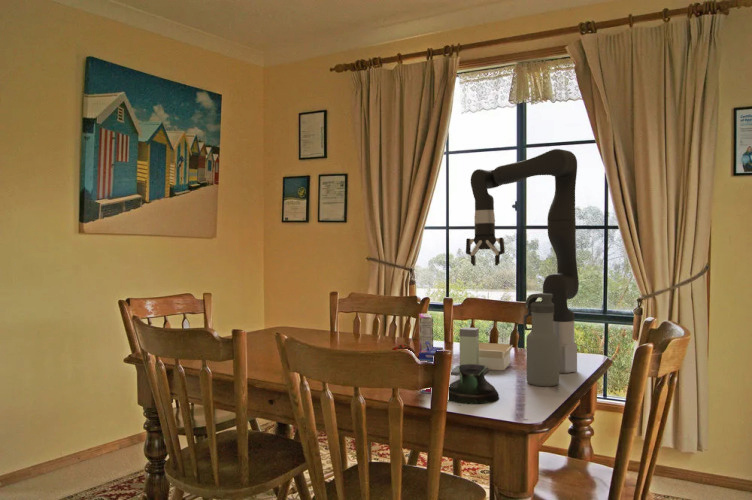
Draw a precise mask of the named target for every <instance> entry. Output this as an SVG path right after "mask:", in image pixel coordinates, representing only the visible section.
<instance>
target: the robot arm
mask: <svg viewBox="0 0 752 500" xmlns="http://www.w3.org/2000/svg"><path fill="white" fill-rule="evenodd" d="M577 160H578V159H577V157H576V155H575V154H574V153H573V152H572V151H570V150H566V149H562V148H561V149H560V148H554V149H551V150H547V151H546V152H544V153H541V154H538V155H536V156H533V157H531V158H529V159H525V160H522V161H516V162H512V163H508V164H503V165H499V166H496V167H495V168H494V169H490V170H488V169H482V168H477V169H475V170H474V171H473V172H472V173H471V175H470V187H471V190H472V194H473V198H474V238H466V243H465V254H467V255H469V256H470V263H471V265H472V266H473V267H475V266H477V265H476V264H477V263H476V262H477V261H476V259H477V258H476V254H477V253H478V251H480V250H491V251H492V252H493V253H494V254H495V255H494V266H496V267H498V265H500V262H501V261H500V259H501V257H500V256H501V255H503V254H505V252H506V251H505V239H504V237H496V223H495V222H496V218H495V217H496V216H495V211H494V210H495V201H494V199H495V198H494V197H493V195H491V194H490V193H489V192H488V191H489V189H496V188H498V187H500V186H502V185H508V184H514V183H518V182H520V181H523V180H525V179H528V178H530V177H536V176H537V177H538V176H552V177H554V186H555V187H554V188H555V189H554V196H553V198H552V201H551V204H550V206H549V209H548V213H547V219H546V220H547V237H548V240H549V243H550V245H551V247H552V249H553V252H554V253H555V256H556V267H557V268H556V269H557V271H556V273H551V274H548V275H547V276H545V278H544V281H543V282H542V283H543V284H542V293H546V294H553V298H551V300H552V303H553V304H554V307H553V308H554V314H553V332H554V333H555V334H556V335H557V336H558V338H559V374H569V373H575V372H578V343H576V342H575V312H574V311H572V310H570V309H569V307H568V300H572V299H573V298H575V297H576V296H577V295H578V292H579V287H580V283H579V282H580V281H579V274H578V273H579V272H578V263H577V247H576V245H577V244H576V239H577V238H576V234H577V233H576V231H577V230H576V224H577V221H576V220H577V219H576V183H577V182H576V181H577V175H578V173H577V172H578V161H577ZM473 242H474V244H475V246H474V248H473V250H471V246H472V245H473ZM496 242H497V243H498V244H499V250H498V249H497V247H496V246H495V244H496Z"/></svg>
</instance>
